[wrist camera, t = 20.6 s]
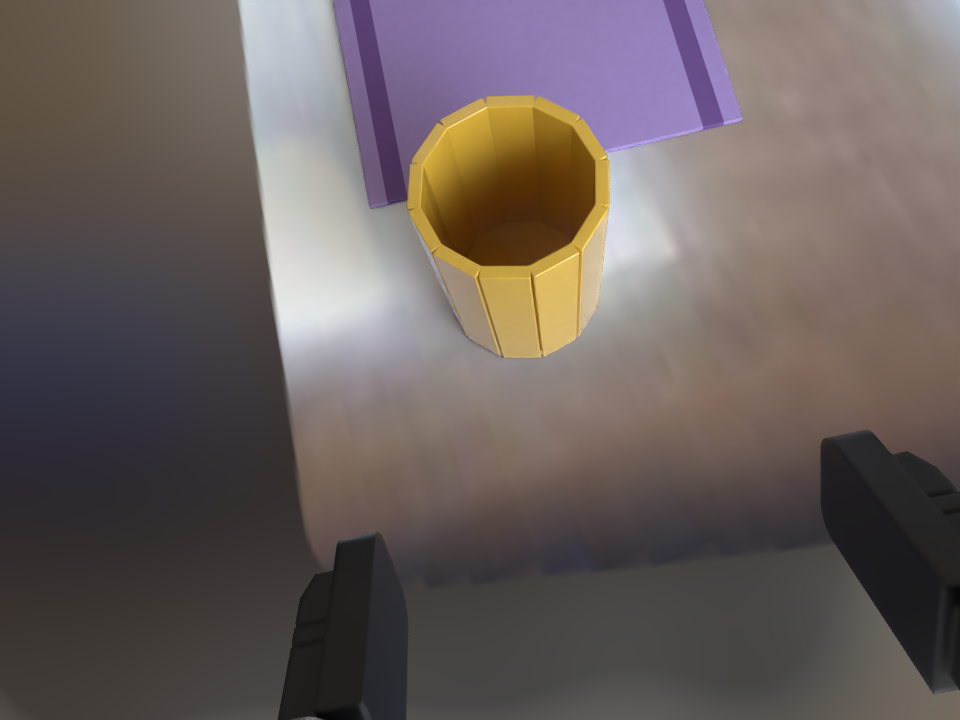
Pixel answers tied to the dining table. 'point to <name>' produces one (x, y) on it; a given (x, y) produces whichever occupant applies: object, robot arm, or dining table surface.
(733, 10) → the dining table surface
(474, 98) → the cloth
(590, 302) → the tumbler
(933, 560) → the robot arm
